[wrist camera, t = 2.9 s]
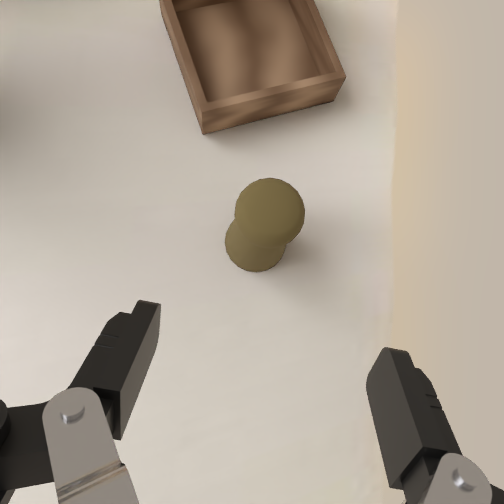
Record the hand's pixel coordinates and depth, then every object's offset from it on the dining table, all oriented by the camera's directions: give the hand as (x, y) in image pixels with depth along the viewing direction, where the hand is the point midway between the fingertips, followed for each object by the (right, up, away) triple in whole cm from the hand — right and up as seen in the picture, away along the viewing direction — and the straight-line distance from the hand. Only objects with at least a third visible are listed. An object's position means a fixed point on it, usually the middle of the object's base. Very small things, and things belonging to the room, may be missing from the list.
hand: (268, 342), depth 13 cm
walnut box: (-1, +25, +27) cm, 37 cm away
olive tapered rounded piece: (0, +4, +23) cm, 23 cm away
